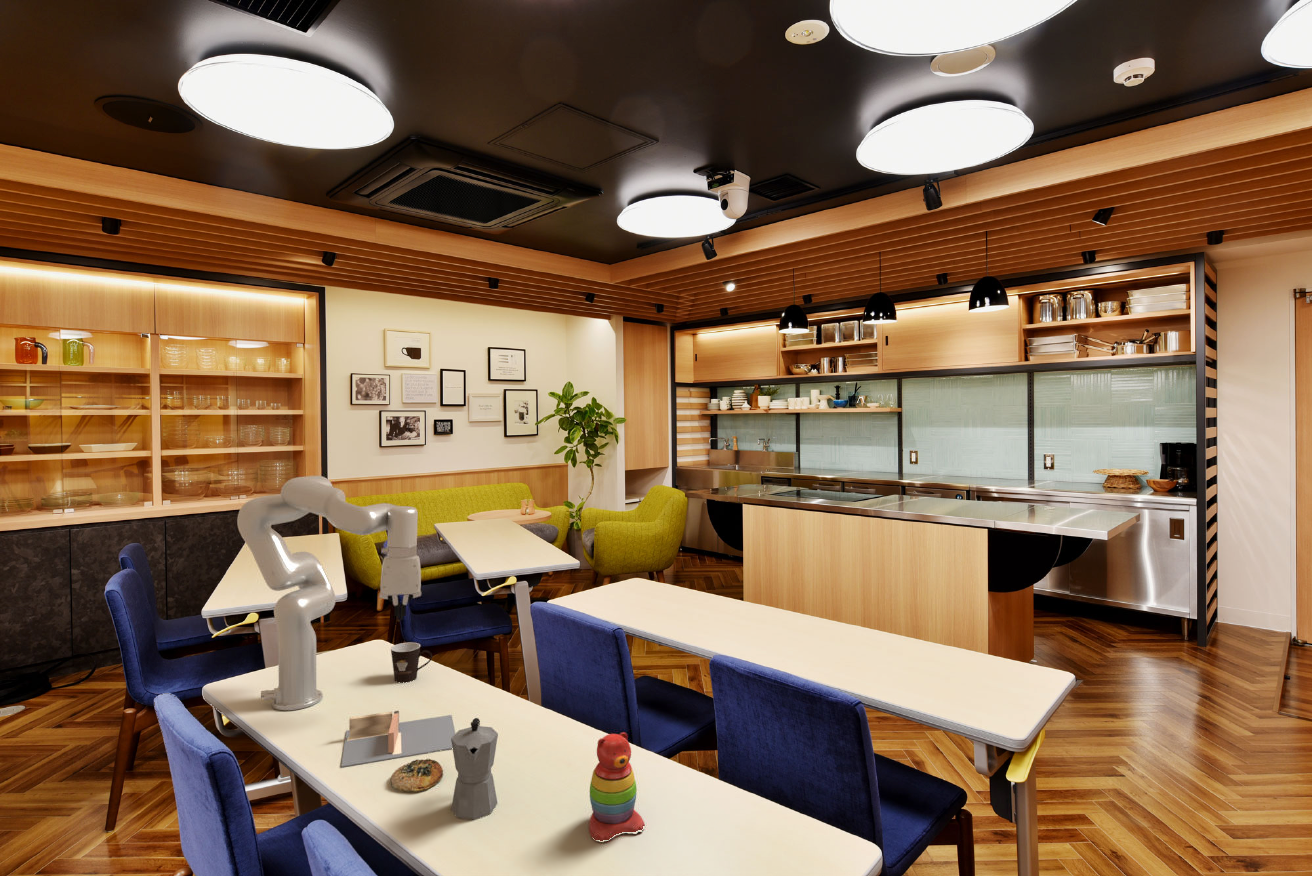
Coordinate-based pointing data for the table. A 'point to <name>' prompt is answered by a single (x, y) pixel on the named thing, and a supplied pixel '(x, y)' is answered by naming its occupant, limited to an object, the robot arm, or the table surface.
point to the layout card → (401, 741)
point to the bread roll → (417, 775)
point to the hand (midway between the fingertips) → (399, 618)
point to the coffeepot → (474, 771)
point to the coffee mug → (406, 661)
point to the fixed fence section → (370, 725)
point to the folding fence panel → (393, 733)
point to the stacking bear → (613, 790)
